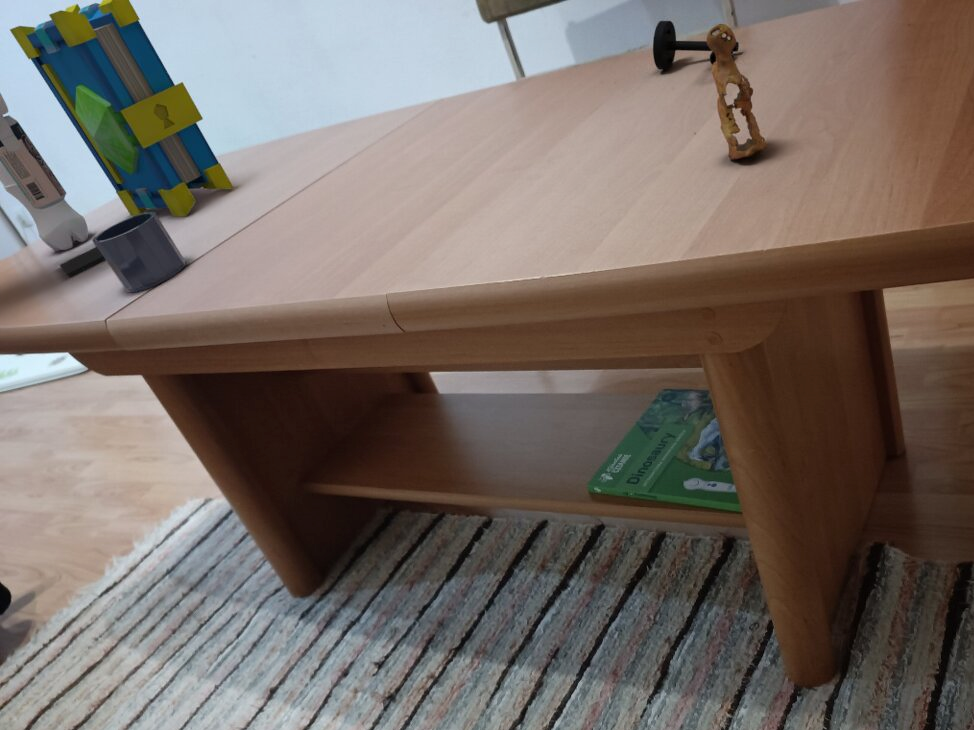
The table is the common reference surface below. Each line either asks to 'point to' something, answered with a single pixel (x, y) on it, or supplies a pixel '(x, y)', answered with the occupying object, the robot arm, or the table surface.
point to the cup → (140, 252)
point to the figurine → (729, 73)
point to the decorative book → (124, 105)
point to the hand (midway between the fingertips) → (13, 148)
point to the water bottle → (50, 218)
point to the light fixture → (675, 46)
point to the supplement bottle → (31, 170)
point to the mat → (82, 262)
